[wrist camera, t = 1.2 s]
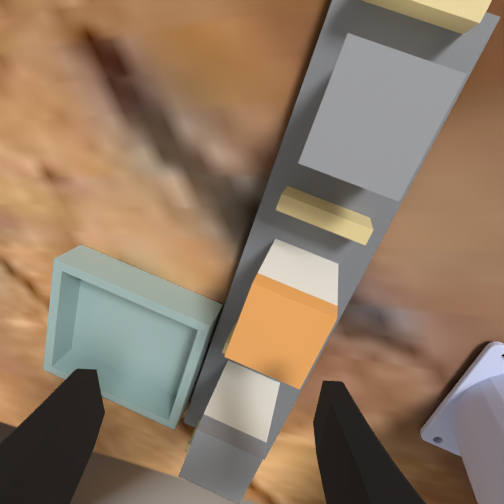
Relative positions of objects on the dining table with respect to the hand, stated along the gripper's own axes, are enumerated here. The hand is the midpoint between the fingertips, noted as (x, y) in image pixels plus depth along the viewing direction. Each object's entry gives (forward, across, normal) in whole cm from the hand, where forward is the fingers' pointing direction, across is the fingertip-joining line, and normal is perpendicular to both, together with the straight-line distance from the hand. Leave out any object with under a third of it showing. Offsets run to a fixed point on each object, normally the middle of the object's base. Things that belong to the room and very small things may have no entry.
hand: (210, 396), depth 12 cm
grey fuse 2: (+9, -6, -8) cm, 13 cm away
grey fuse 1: (+8, -2, +10) cm, 13 cm away
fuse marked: (+9, -4, +1) cm, 10 cm away
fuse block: (+10, -4, +1) cm, 11 cm away
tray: (+12, +6, +8) cm, 15 cm away
